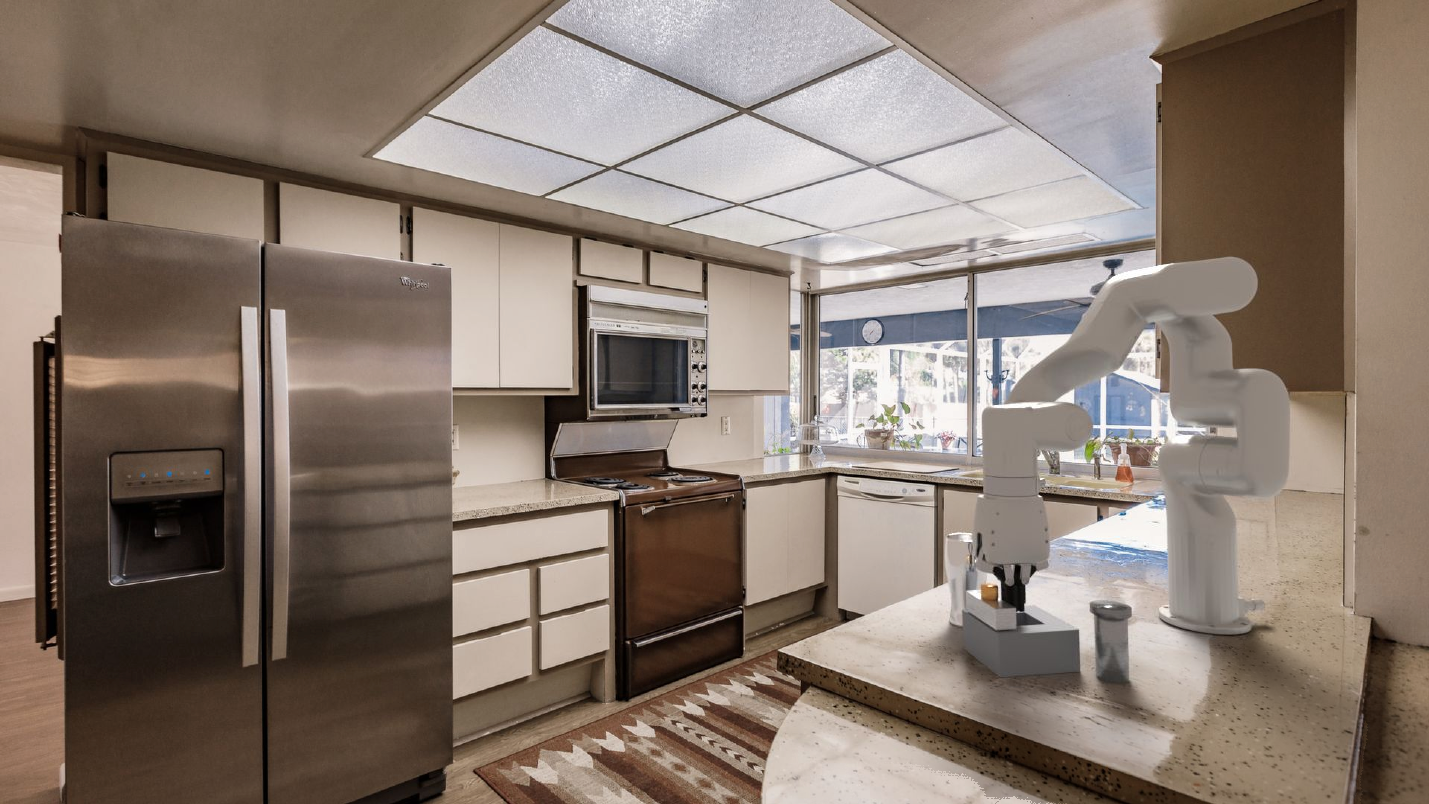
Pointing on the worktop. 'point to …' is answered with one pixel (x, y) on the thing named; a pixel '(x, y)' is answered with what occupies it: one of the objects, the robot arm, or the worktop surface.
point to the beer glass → (961, 572)
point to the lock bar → (991, 607)
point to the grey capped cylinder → (1111, 640)
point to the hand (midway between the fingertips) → (1013, 609)
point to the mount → (1024, 644)
